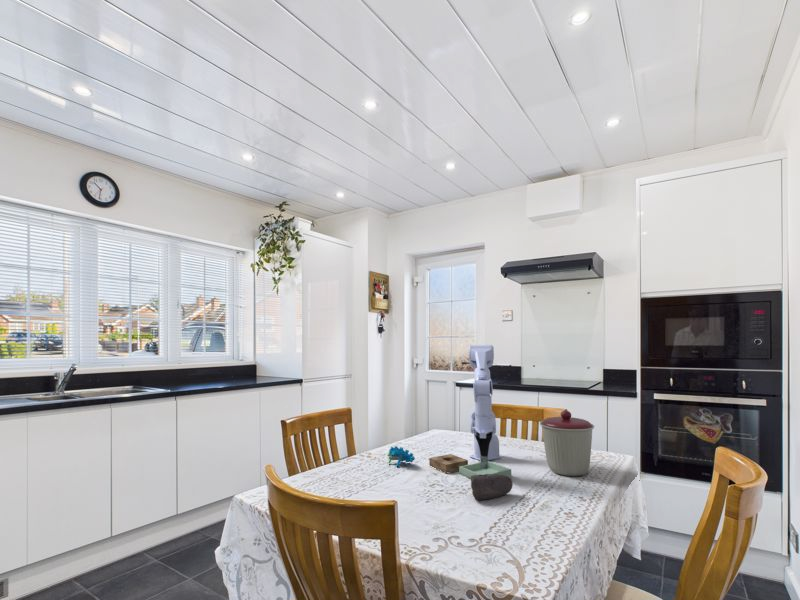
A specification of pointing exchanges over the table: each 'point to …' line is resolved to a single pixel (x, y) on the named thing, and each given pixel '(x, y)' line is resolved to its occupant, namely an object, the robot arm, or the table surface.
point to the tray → (484, 470)
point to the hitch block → (447, 462)
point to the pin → (484, 462)
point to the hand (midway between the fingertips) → (484, 454)
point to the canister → (567, 444)
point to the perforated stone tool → (490, 486)
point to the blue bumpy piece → (400, 455)
